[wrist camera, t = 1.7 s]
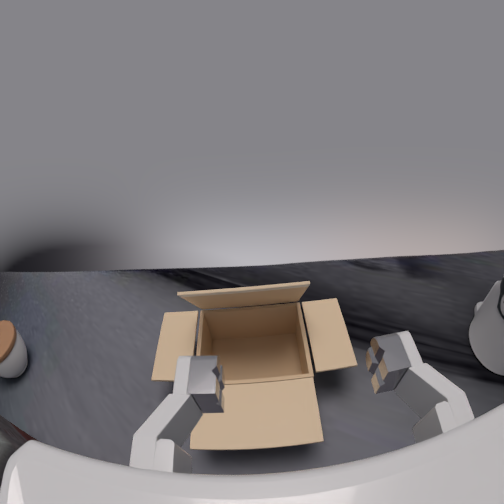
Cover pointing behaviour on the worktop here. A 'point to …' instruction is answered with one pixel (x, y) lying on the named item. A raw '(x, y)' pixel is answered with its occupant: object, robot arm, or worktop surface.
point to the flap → (246, 295)
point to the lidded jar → (11, 351)
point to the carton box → (259, 369)
